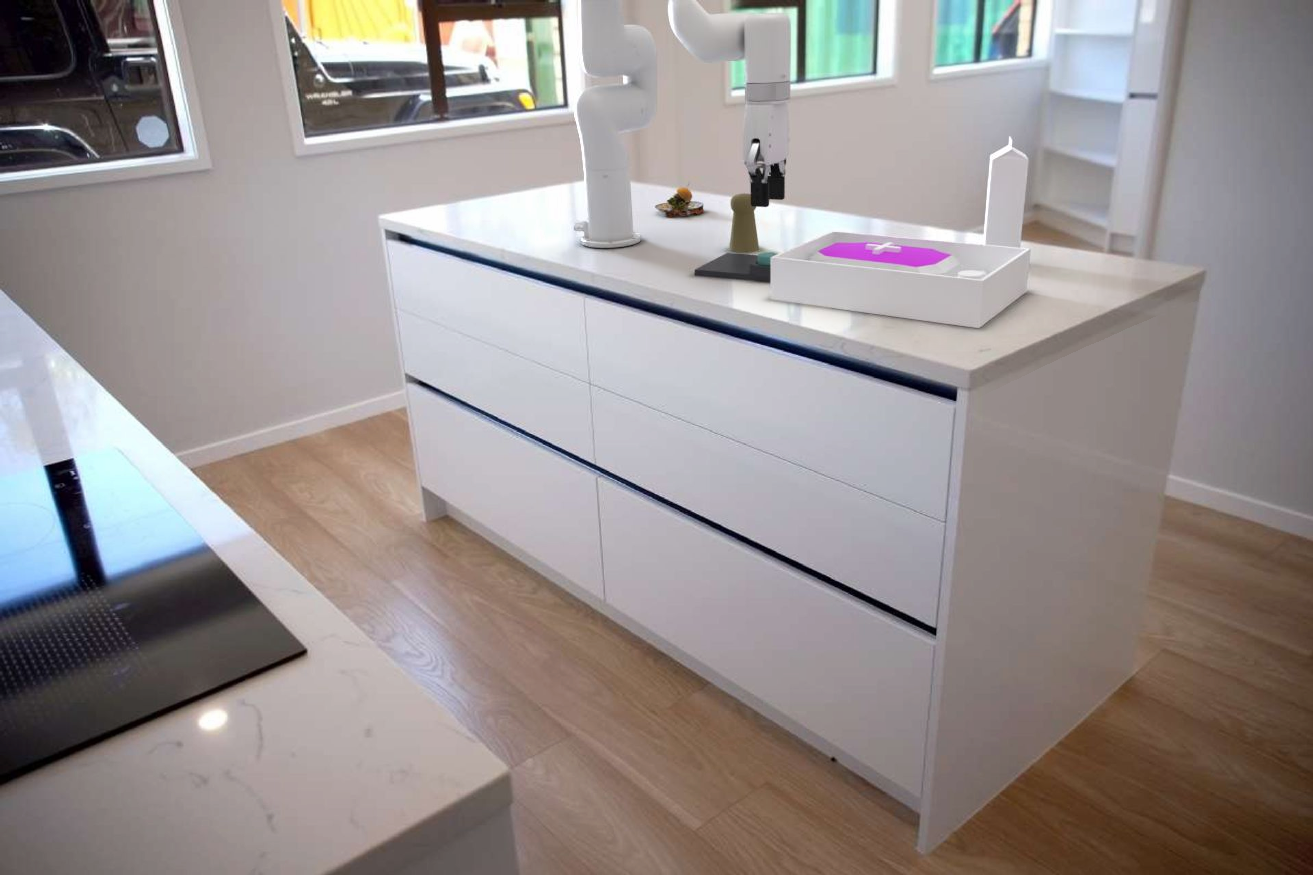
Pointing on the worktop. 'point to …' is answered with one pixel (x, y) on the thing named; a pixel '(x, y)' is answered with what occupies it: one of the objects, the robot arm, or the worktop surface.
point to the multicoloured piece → (680, 204)
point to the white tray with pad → (902, 277)
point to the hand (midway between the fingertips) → (767, 201)
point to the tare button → (765, 258)
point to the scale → (736, 268)
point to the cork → (743, 225)
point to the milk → (1005, 197)
